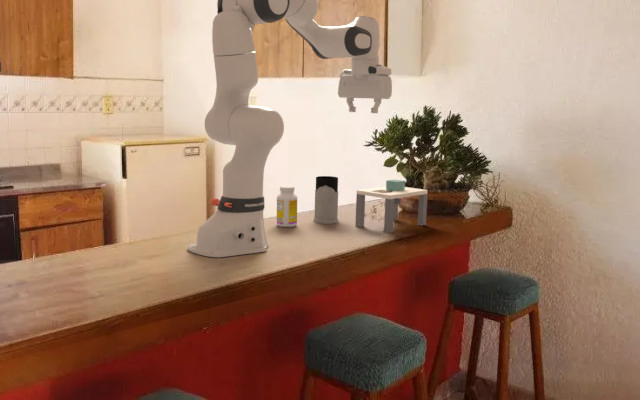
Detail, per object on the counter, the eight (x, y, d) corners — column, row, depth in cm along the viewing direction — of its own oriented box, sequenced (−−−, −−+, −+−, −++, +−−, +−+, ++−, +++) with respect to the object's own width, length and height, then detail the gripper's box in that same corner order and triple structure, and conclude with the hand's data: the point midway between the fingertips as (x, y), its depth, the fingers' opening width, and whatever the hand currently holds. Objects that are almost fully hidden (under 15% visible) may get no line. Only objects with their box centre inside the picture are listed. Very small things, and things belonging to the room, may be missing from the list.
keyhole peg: (395, 204, 217) (396, 182, 216) (385, 202, 220) (386, 180, 219) (404, 203, 220) (405, 181, 219) (393, 201, 223) (394, 179, 222)
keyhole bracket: (388, 233, 209) (390, 195, 207) (355, 226, 218) (356, 190, 216) (425, 225, 223) (427, 190, 221) (392, 219, 232) (394, 185, 230)
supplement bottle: (298, 224, 219) (298, 185, 217) (295, 228, 213) (296, 188, 211) (278, 223, 220) (278, 184, 218) (274, 227, 213) (275, 187, 211)
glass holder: (311, 222, 222) (312, 178, 220) (316, 215, 236) (318, 173, 234) (337, 224, 221) (338, 179, 219) (341, 216, 235) (342, 174, 232)
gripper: (334, 69, 218) (333, 111, 220) (383, 68, 204) (381, 113, 206) (347, 70, 222) (345, 111, 225) (395, 69, 208) (393, 113, 211)
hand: (363, 112), depth 215 cm, fingers open, 8 cm apart
